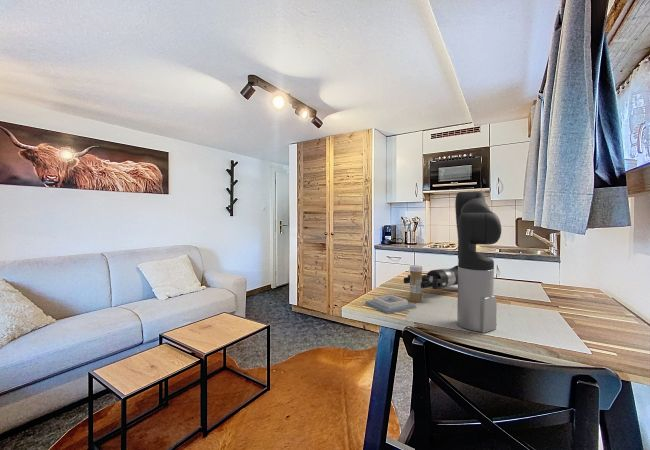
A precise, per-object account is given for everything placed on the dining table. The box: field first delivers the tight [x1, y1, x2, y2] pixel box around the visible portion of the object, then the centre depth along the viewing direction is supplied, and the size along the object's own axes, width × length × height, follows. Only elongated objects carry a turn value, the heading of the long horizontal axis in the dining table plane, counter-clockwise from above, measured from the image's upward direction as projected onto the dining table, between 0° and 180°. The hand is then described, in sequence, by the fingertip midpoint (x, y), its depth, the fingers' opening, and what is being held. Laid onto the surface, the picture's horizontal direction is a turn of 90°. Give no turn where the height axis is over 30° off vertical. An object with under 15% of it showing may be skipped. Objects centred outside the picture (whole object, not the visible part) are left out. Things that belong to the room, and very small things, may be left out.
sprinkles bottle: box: [409, 264, 423, 303], centre depth 106 cm, size 5×5×14 cm
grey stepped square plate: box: [365, 294, 417, 315], centre depth 99 cm, size 12×13×2 cm
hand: (412, 283), depth 105 cm, fingers open, 8 cm apart
